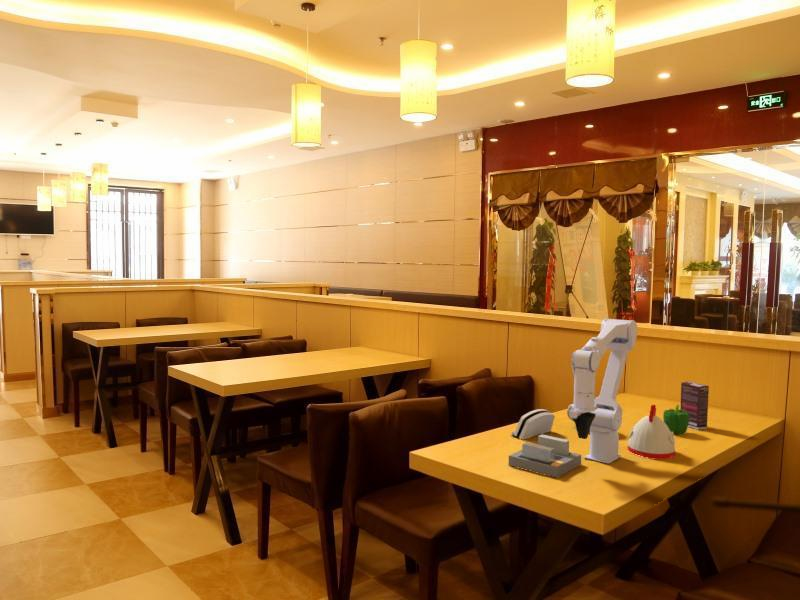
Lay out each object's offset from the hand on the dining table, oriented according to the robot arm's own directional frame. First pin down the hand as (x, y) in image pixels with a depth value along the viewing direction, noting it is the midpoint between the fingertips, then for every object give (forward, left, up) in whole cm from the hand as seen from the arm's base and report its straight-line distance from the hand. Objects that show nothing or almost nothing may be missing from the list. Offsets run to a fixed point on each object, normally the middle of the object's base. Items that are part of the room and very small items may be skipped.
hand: (582, 438), depth 179 cm
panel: (+9, -10, -10) cm, 16 cm away
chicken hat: (-31, +9, -10) cm, 34 cm away
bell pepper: (-59, +8, -10) cm, 60 cm away
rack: (+4, -10, -9) cm, 14 cm away
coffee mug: (-42, -18, -10) cm, 47 cm away
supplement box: (-72, +10, -10) cm, 73 cm away
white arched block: (-23, -28, -10) cm, 38 cm away
